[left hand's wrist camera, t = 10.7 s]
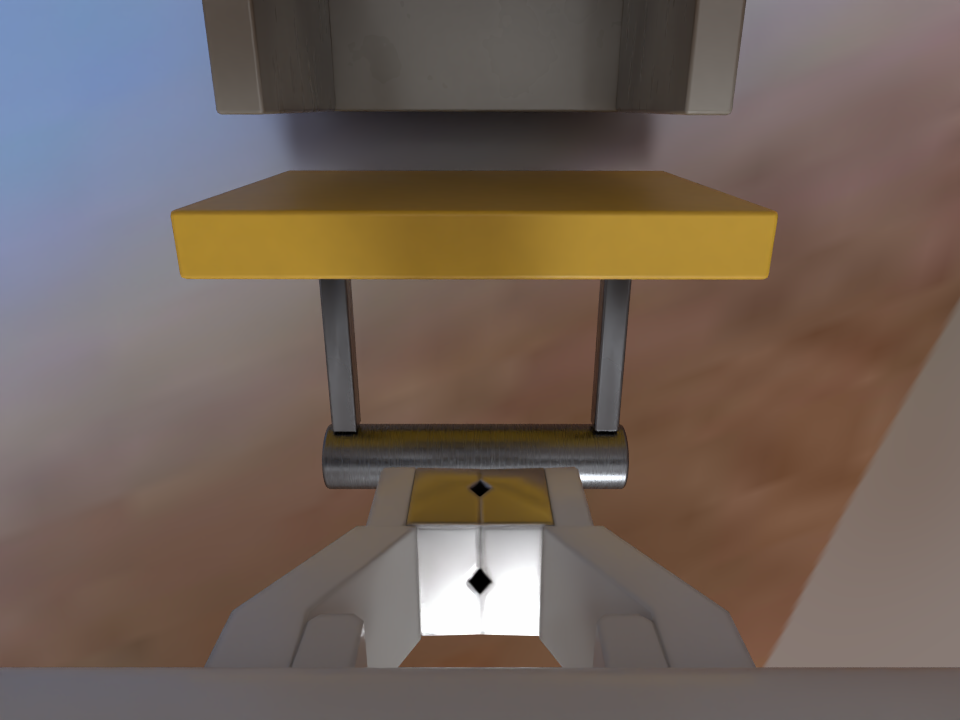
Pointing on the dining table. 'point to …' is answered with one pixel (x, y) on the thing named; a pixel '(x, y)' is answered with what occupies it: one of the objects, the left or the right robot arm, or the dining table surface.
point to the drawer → (474, 187)
